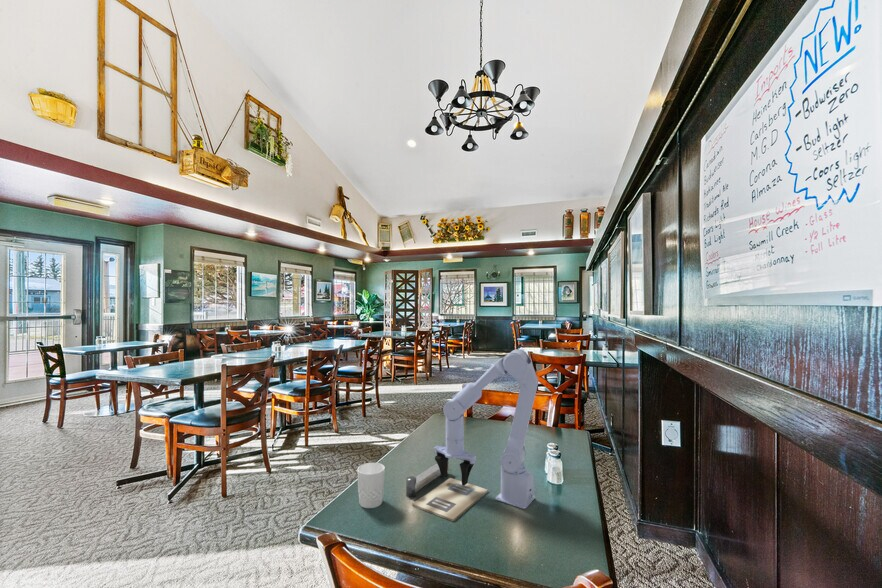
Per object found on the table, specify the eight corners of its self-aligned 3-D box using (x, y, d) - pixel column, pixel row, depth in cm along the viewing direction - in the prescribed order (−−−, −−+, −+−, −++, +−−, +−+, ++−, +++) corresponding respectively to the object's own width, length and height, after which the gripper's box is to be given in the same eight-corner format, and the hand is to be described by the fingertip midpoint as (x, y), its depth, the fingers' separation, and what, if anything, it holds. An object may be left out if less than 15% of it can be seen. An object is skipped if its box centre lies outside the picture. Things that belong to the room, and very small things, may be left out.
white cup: (351, 505, 113) (351, 470, 113) (368, 493, 120) (368, 460, 120) (373, 512, 109) (373, 476, 109) (389, 499, 116) (390, 465, 116)
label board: (488, 491, 122) (488, 489, 122) (453, 521, 105) (453, 518, 105) (450, 479, 129) (450, 477, 129) (412, 505, 113) (412, 503, 113)
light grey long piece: (440, 470, 136) (440, 456, 136) (448, 472, 134) (448, 458, 134) (403, 495, 119) (404, 479, 119) (412, 498, 117) (412, 482, 117)
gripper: (428, 436, 125) (428, 479, 125) (467, 446, 117) (467, 492, 117) (441, 430, 131) (441, 471, 131) (479, 439, 122) (479, 483, 122)
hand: (454, 480), depth 124 cm, fingers open, 7 cm apart
